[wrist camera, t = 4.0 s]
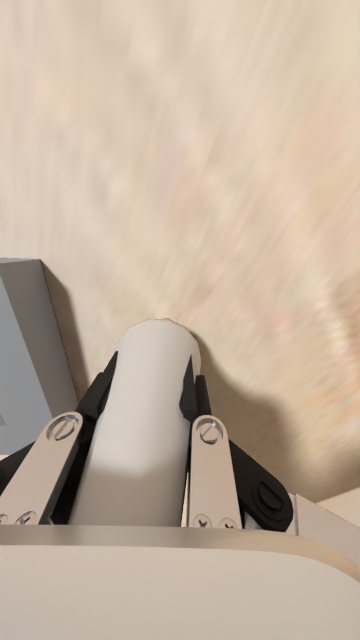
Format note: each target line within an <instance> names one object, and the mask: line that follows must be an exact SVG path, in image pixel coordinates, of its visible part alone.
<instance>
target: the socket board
mask: <svg viewBox="0 0 360 640" xmlns="http://www.w3.org/2000/svg"><path fill="white" fill-rule="evenodd" d="M78 405H79V402H78V399H77V395H76V391H75V388H74V384H73V380H72V376H71V373H70V369H69V365H68V362H67V358H66V354H65V350H64V347H63V343H62V339H61V335H60V332H59V328H58V324H57V321H56V317H55V313H54V309H53V306H52V302H51V298H50V295H49V291H48V287H47V283H46V280H45V276H44V272H43V268H42V265H41V261H40V259H18V258H0V455H11V454H13V453H15V452H17V451H18V450H20V449H22V448H24V447H25V446H27V445H29V444H31V443H32V442H34V441H36V440H37V439H38V437H39V435H40V434H41V432H42V431H43V429H44V428H45V426H46V425H47V424H48V423H49V422H50V421H51V420H52V419H54V418H55V417H57V416H59V415H61V414H63V413H66V412H74V411H75V410H76V408H77V406H78Z"/></svg>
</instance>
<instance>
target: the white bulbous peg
mask: <svg viewBox="0 0 360 640" xmlns="http://www.w3.org/2000/svg"><path fill="white" fill-rule="evenodd" d="M116 351H118V357H117V363H116V369H115V372H114V375H113V378H112V384H111V389H110V393H109V396H108V400H107V403H106V406H105V409H104V411H103V412H102V414H101V415H100V416H99V419H98V420H97V422H96V426H95V430H94V434H93V438H92V441H91V445H90V449H89V453H88V455H87V458H86V461H85V465H84V468H83V472H82V475H81V479H80V482H79V486H78V489H77V493H76V496H75V500H74V503H73V507H72V510H71V514H70V517H69V521H68V524H67V525H98V526H157V527H181V521H182V513H183V504H184V496H185V488H186V480H187V472H188V464H189V455H188V441H189V432H190V421H188V420H187V419H185V418H183V413H182V412H181V410H180V408H179V402H180V398H181V395H182V391H183V378H184V375H185V372H186V368H187V365H188V362H189V359H190V355H192V365H193V375H194V384H195V379H196V375H200V367H201V357H200V351H199V345H198V343H197V341H196V340H195V339H194V338H193V336H192V335H191V334H190V333H189V331H188V330H187V329H186V328H185V327H183V326H181V325H178V324H176V323H174V322H172V321H170V320H169V319H168V318H166V319H147V320H145V321H143V322H140V323H138V324H136V325H133V326H131V327H130V328H129V329H128V330H127V331H126V332H125V334H124V335H123V336H122V337H121V339H120V340H119V341H118V342H117V345H116V349H115V352H116ZM115 352H114V354H115Z"/></svg>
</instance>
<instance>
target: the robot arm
mask: <svg viewBox="0 0 360 640" xmlns="http://www.w3.org/2000/svg"><path fill="white" fill-rule="evenodd" d="M117 357H118V351H116V352H115V354H114V355H113V357H112V359H111V360H110V362H109V364H108V365H107V367H106V369H105V370H104V372H100V373H99V374H98V375H97V376H96V378H95V380H94V381H93V383H92V384H91V386H90V387H89V389H88V391H87V392H86V394H85V395H84V397H83V399H82V400H81V402H80V403H79V405H78V406H77V408H76V410H75V411H74V412H66V413H63V414H61V415H59V416H57V417H55V418H54V419H52V420H51V421H50V422H49V423H48V424H47V425H46V426H45V428H44V429H43V431H42V432H41V434H40V435H39V437H38V439H37V440H36V441H34V442H32V443H31V444H29V445H27V446H25V447H24V448H22V449H20V450H18V451H17V452H15V453H13V454H11V455H10V456H8V457H6V458H4V459H3V460H1V461H0V640H360V528H359V527H357V526H356V525H354V524H352V523H350V522H348V521H346V520H344V519H343V518H341V517H339V516H337V515H335V514H333V513H332V512H330V511H328V510H326V509H324V508H322V507H320V506H319V505H317V504H315V503H313V502H311V501H310V500H308V499H306V498H304V497H302V496H300V495H299V494H297V493H296V494H295V496H294V495H293V494H291V493H289V492H287V491H286V489H285V488H284V486H283V485H282V484H281V483H280V482H279V481H278V480H277V479H276V478H275V477H274V476H273V475H271V474H270V473H269V472H268V471H267V470H265V469H264V468H263V467H262V466H261V465H259V464H258V463H257V462H256V461H255V460H253V459H252V458H251V457H250V456H249V455H247V454H246V453H245V452H244V451H243V450H242V449H240V448H239V447H238V446H237V445H236V444H234V443H233V442H232V441H231V440H230V439H228V435H227V431H226V427H225V426H224V424H223V423H222V422H221V421H220V420H219V419H218V418H216V417H214V416H212V414H211V409H210V404H209V398H208V393H207V387H206V382H205V377H204V375H196V379H195V384H194V375H193V365H192V355H190V359H189V362H188V365H187V368H186V372H185V375H184V378H183V391H182V395H181V398H180V402H179V408H180V410H181V412H182V413H183V418H185V419H187V420H188V421H190V432H189V441H188V455H189V464H188V485H187V508H186V527H157V526H98V525H67V524H68V521H69V517H70V514H71V510H72V507H73V503H74V500H75V496H76V493H77V489H78V486H79V482H80V479H81V475H82V472H83V468H84V465H85V461H86V458H87V455H88V453H89V449H90V445H91V441H92V438H93V434H94V430H95V426H96V422H97V420H98V419H99V416H100V415H101V414H102V412H103V411H104V409H105V406H106V403H107V400H108V396H109V393H110V389H111V384H112V378H113V375H114V372H115V369H116V363H117Z"/></svg>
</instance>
